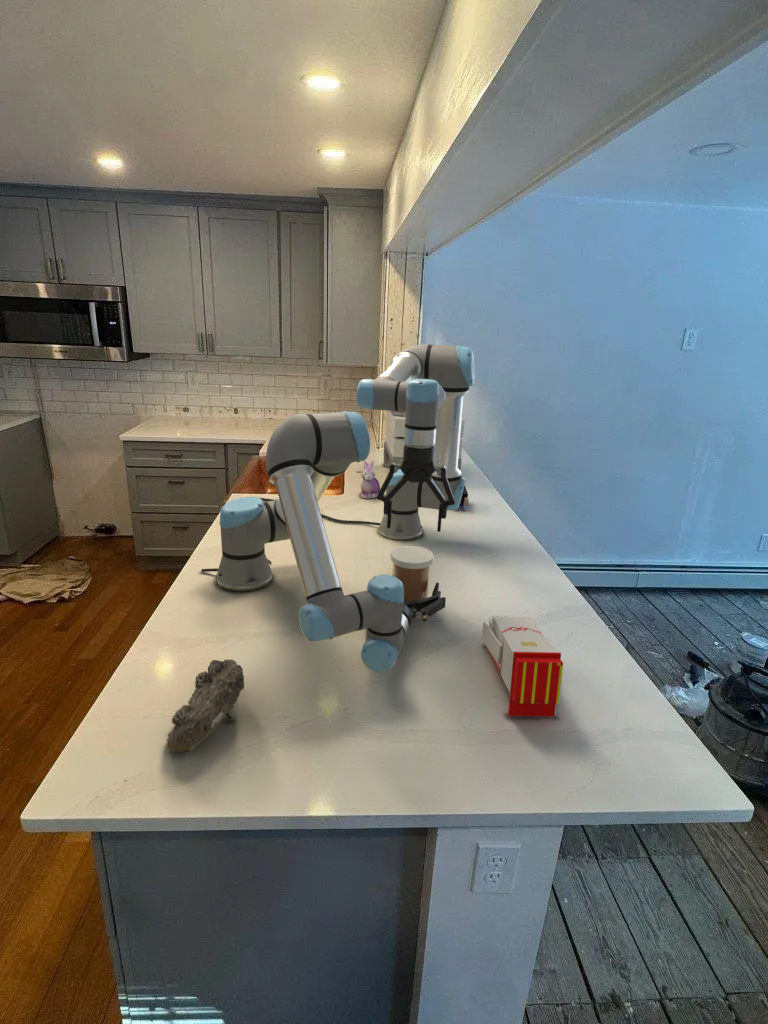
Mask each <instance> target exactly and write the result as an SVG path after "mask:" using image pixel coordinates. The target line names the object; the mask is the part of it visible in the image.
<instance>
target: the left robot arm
mask: <svg viewBox="0 0 768 1024" xmlns="http://www.w3.org/2000/svg"><path fill="white" fill-rule="evenodd" d="M370 438H371V437H370V431H369V428H368V425H367V422H366V420H365V418H364V417H363V416H362V415H361V414H360V413H358V412H357V411H346V410H343V411H334V412H319V413H306V414H305V413H297V414H294V415H290V416H288V417H287V418H286V419H283V420H282V421H281V422H280V423H279V424H278V426H277V427H275V429H274V431H273V432H272V433H271V436H270V438H269V440H268V444H267V447H266V453H265V467H266V469H265V470H266V473H267V477H268V480H269V483H270V484H272V485H273V486H275V488H276V492H277V497H276V498H275V499H274V500H275V501H264V500H261V499H260V498H261V497H259V496H258V497H257V496H243V497H237V498H235V499H234V498H233V499H231V500H229V501H228V502H226V503H225V504H223V505H222V507H221V508H220V510H219V511H220V512H219V527H220V539H221V540H220V542H221V559H220V562H219V565H218V568H215V567H214V568H202V569H201V572H203V573H206V572H207V573H208V572H216V583H217V584H218V586H219V587H221V588H222V589H224V590H227V591H232V592H250V591H256V590H258V589H259V590H260V589H261V588H264V587H266V586H267V585H269V584H270V583H271V581H272V579H273V573H272V572H273V571H272V568H271V566H272V561H271V560H270V559H269V558H267V555H266V553H265V552H266V550H265V549H266V548H265V546H266V544H271V543H275V542H276V543H277V542H281V541H287V540H290V544H291V548H292V553H293V555H294V559H295V563H296V566H297V570H298V573H299V577H300V581H301V585H302V587H303V588H302V589H303V593H304V597H305V600H306V604H303V605H302V606H301V607H300V609H299V611H298V619H299V628H300V631H301V632H302V635H303V637H304V638H305V639H306V640H307V641H308V642H312V643H316V642H320V641H324V640H332V639H334V638H338V637H340V636H343V635H348V634H351V633H354V632H359V631H362V630H366V633H365V641H364V643H363V644H362V648H361V651H360V659H361V661H362V663H363V665H364V666H365V667H366V669H369V670H371V671H372V672H375V673H385V672H388V671H390V670H391V669H392V668H393V667H394V665H395V663H396V662H397V660H398V659H399V654H400V651H401V649H402V647H403V644H404V641H405V639H406V636H407V634H408V632H409V629H410V627H411V625H412V623H413V620H414V619H415V618H419V619H421V622H423V623H424V622H427V621H428V619H429V618H430V617H432V616H433V615H435V614H437V613H438V612H440V611H443V609H445V608H446V603H447V601H446V600H447V598H446V597H445V596H442V591H441V590H439V589H440V582H435V584H434V588H433V590H432V592H431V595H430V596H428V598H425V599H421V600H418V601H416V600H413V601H410V602H408V601H404V590H403V583H402V582H401V581H400V580H399V579H398V578H396V577H394V576H392V575H390V574H379V575H374V576H373V577H372V578H370V579H369V580H368V582H367V586H366V589H365V590H363V591H359V592H354V593H350V594H346V595H345V594H344V591H343V587H342V585H341V581H340V577H339V573H338V570H337V566H336V563H335V562H336V561H335V559H334V555H333V552H332V548H331V544H330V541H329V537H328V535H327V530H326V527H325V523H324V520H323V517H322V516H321V514H322V513H321V509H320V505H319V501H320V500H321V499H322V496H323V495H324V494H325V492H326V490H327V489H328V487H329V486H330V485H331V483H332V481H334V478H335V477H338V476H341V475H342V474H344V473H345V472H346V471H347V470H348V469H349V467H350V465H351V464H352V463H360V462H364V461H366V460H367V459H368V458H369V455H370V449H371V439H370ZM441 596H442V597H441Z"/></svg>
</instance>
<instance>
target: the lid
mask: <svg viewBox="0 0 768 1024" xmlns="http://www.w3.org/2000/svg"><path fill="white" fill-rule="evenodd" d="M390 561H391V563H392V564H393V563H394V564H395V565H397V566H400V567H403V568H408V569H421V568H426V567H428V566H430V567H431V566H432V565H433V563H434V553H433V552H432V551H431V550H430V549H428V548H425V547H422V546H417V545H401V546H398V547H395V548H393V549H392V550H391V551H390Z"/></svg>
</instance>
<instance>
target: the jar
mask: <svg viewBox="0 0 768 1024" xmlns="http://www.w3.org/2000/svg"><path fill="white" fill-rule="evenodd" d="M391 569H392V571H391V576H394V577H396V578H398V579H399V580H400V581H401V582H402V583H403V590H404V601H408V602H410V601H413V600H416V601H418V600H421V599H425V598H428V597H429V589H430V575H431V565H430V566H428V567H426V568H421V569H408V568H403V567H400V566H397V565H395V564H394V563H393V562H392V567H391Z"/></svg>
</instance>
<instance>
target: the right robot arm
mask: <svg viewBox="0 0 768 1024" xmlns="http://www.w3.org/2000/svg"><path fill="white" fill-rule="evenodd" d="M475 365H476V364H475V355H474V351H473V349H472V348H471V347H469V346H462V345H451V344H450V345H449V344H430V343H429V344H428V343H423V344H422V343H421V344H416V345H413V346H410V347H406V348H404V349H403V350H401V351H399V352H398V353H397V354H396V355H395V356H394V357H393V358H392V360H391V362H390V365H389V366H388V367H386V369H385V370H384V371H383V372H382V373H381V374H379V375H378V376H377V377H376V378H375V379H372V378H363V379H361V380H359V382H358V385H357V388H356V402H357V405H358V407H359V408H361V409H366V410H370V411H386V412H387V411H399V412H406V418H405V431H404V443H405V446H404V451H403V462H402V464H395V463H394V462H392V463H391V464H390V467H389V470H388V473H387V475H386V477H385V479H384V481H383V483H382V485H381V486H380V491H379V493H378V495H377V497H376V499H377V501H382V502H383V515H382V519H381V522H375V521H365V520H346V519H345V520H344V519H338V518H335V517H331V516H329V515H326V514H322V513H321V516H322V518H323V519H327V520H329V521H332V522H336V523H342V524H361V525H372V526H379V527H378V533H379V534H380V535H381V536H382V537H385V538H387V539H389V540H395V541H410V540H415V539H418V538H420V537H421V536H422V535H423V525H422V524H421V518H420V515H419V508H422V509H430V510H431V509H432V510H438V514H437V515H438V517H437V526H436V529H437V530H436V531H437V532H438V533H441V529H442V519H444V520H445V519H446V518H447V514H448V512H455V511H457V510H458V509H459V508H460V507H459V505H460V501H461V497H462V493H463V489H464V485H465V484H466V478H465V477H462V470H461V471H460V470H459V469H458V467H457V466H458V454H459V443H460V439H461V438H460V431H461V419H463V408H464V407H463V405H464V396H465V395H467V394H468V393H469V391H470V387H473V386H474V385H475V379H476V377H475V375H476V367H475ZM465 486H466V485H465ZM259 498H260V499H261V500H262V501H263V502H267V501H275V500H276V499H273V498H265V497H259Z"/></svg>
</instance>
